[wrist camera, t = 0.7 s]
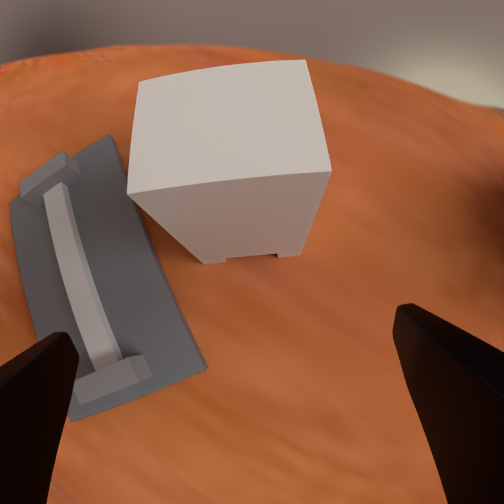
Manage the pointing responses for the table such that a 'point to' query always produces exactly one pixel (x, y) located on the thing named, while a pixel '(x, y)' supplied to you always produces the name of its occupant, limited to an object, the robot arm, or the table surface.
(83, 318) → the rail plate
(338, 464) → the table surface
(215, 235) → the block
